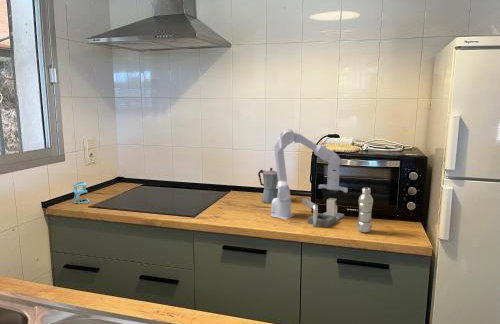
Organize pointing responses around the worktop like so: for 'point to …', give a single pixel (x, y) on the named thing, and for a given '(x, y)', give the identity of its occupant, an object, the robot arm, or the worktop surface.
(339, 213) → the tile
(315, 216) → the grey piece
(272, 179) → the moka pot
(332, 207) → the plug
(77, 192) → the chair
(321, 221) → the socket block
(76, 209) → the worktop surface
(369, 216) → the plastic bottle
